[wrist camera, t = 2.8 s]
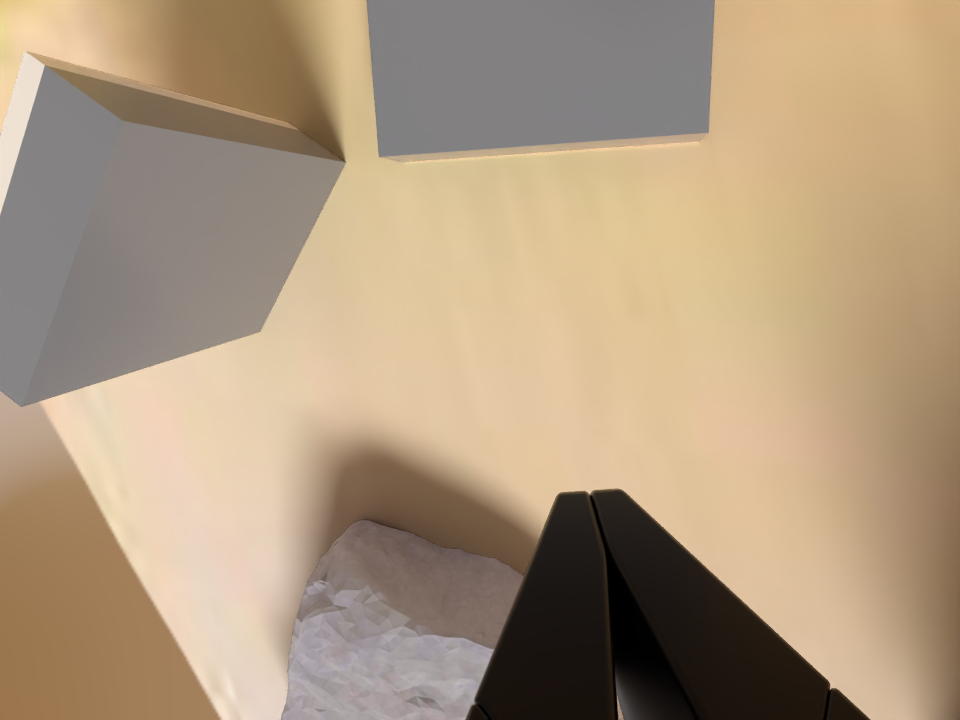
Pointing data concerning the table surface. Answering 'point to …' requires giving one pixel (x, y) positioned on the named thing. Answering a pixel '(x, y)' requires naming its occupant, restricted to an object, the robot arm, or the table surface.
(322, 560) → the stone block
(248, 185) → the tile
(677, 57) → the twin tile
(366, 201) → the table surface
